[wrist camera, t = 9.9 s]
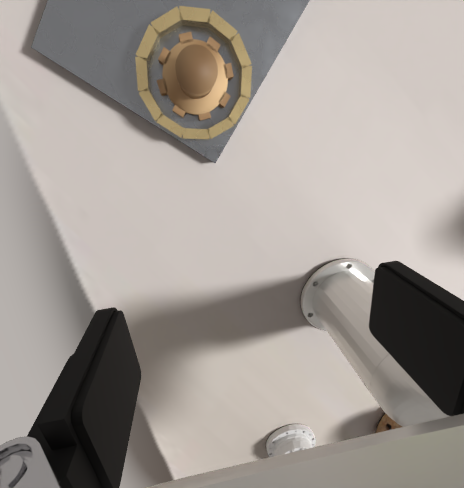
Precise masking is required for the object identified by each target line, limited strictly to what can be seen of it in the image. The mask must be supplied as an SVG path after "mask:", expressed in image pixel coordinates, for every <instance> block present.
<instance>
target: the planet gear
mask: <svg viewBox="0 0 464 488" xmlns="http://www.w3.org/2000/svg"><path fill="white" fill-rule="evenodd" d="M179 41H180V43H178V44H177V45H175V46H174V47H173V48H172V49H171V50H170V51H169V50H168V49H166V48H165V47H163V50H162V52H161V54H160V56H159V58H158V61H159V63H160V64H162V65H163V73H162V76H163V79H160V80H157V83H158V87H159V90H160V94H161V95H162V96H163V95H167V94H168V96H169V98H170V99H171V101H172V102H173V103H174V105H175V106H174V108H173V110H172V111H173V112H175V113H176V114H178V115H179V116H181V117H182V118H183V117H184V115H185V113H188V114H192V115H198V117H199V121H202V120H206V119H210V118H211V115H210V111H212V110H213V109H215V108H216V107H217V106H218V105H219V106H221V107H222V108H224V107H225V106H226V104H227V102H228V100H229V98H230V97H231V96H230V95H229V94H227V93H226V90H227V85H228V80H231V79H232V78H233V77H234V75H233V70H232V65H231V63H228V64H225V63H224V60H223V58H222V57H221V55H220V54H219V52H218V50H219V48H220V44H219V43H218V42H216V41H215V40H214V39H213V38H211V37H209V39H208V41H207V43H206V42H204V41H201V40H196V39H193V37H192V33H191V32H187V33H182V34H179Z"/></svg>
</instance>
